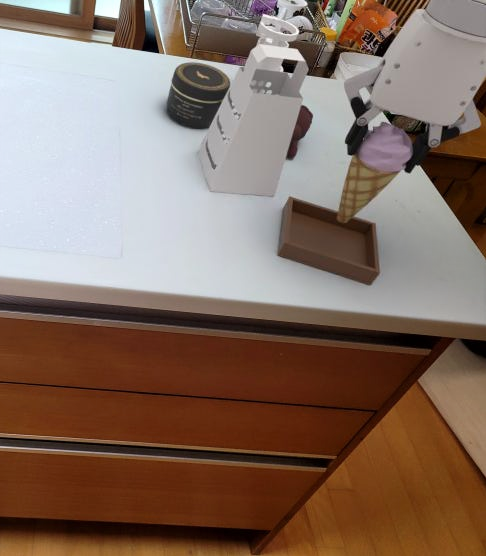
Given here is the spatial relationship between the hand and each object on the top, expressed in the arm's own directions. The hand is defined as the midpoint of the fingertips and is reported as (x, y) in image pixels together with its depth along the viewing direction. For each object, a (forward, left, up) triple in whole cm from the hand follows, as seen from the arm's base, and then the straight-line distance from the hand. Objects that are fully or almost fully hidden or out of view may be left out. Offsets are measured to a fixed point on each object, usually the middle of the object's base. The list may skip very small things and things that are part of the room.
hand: (378, 157), depth 69 cm
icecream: (+8, -27, -15) cm, 32 cm away
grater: (+15, -11, -15) cm, 24 cm away
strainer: (+15, -39, -15) cm, 45 cm away
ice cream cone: (0, 0, -10) cm, 10 cm away
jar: (+25, -25, -15) cm, 39 cm away
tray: (0, 0, -15) cm, 15 cm away
